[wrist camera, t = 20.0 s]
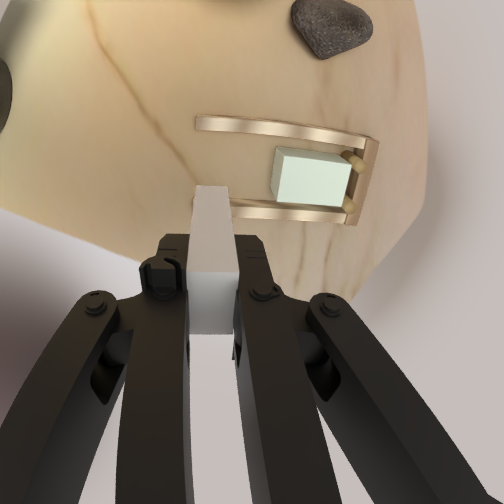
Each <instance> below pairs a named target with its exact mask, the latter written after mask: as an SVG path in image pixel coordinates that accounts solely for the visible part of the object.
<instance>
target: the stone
mask: <svg viewBox="0 0 504 504" xmlns="http://www.w3.org/2000/svg"><path fill="white" fill-rule="evenodd" d="M291 14H292V19H293V21H294V25H295V26H296V27H297V29H298V30H299V31H300V32H301V33H302V34H303V37H304V38H305V39H306V41H307V42H308V44H309V45H310V46H311V48H312V49H313V51H314V52H315V54H316V55H317V56H318V57H319V58H320V59H322V60H324V59H328V58H330V57H332V56H335V55H337V54H339V53H342V52H344V51H347V50H349V49H352V48H355V47H357V46H359V45H362V44H364V43H365V42H367V41H368V40H369V39H370V37H371V36H372V33H373V24H372V21H371V19H370V17H369V16H368V15H367V14H366V13H365V12H364V11H363V10H362V9H361V8H359V7H357V6H355V5H353V4H351V3H348V2H346V1H344V0H296V1H295V2H294V4H293V5H292V13H291Z"/></svg>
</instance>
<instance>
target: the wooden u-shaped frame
mask: <svg viewBox="0 0 504 504" xmlns="http://www.w3.org/2000/svg"><path fill="white" fill-rule="evenodd" d="M195 130H211V131H230V132H244V133H256V134H266V135H276V136H285V137H293V138H300V139H308V140H314V141H321V142H327V143H333V144H339V145H344V146H350V147H355V149H354V154H353V153H352V152H350V151H348V150H346V151H344V152H343V153H342V154H341V157H342V158H343V159H345V160H346V161H347V162H349V163H350V164H351V165H352V167H351V171H350V175H349V179H348V183H347V187H346V191H345V195H344V199H343V203H342V206H341V207H338V206H327V205H316V204H303V203H289V202H277V201H264V200H246V199H229V201H230V208H231V216H232V217H239V218H262V219H282V220H300V221H317V222H332V223H344V224H345V225H353V226H357V223H358V220H359V217H360V214H361V210H362V207H363V203H364V200H365V197H366V193H367V189H368V186H369V182H370V179H371V175H372V171H373V167H374V163H375V159H376V155H377V151H378V147H379V143H380V142H379V141H377V140H375V139H373V138H371V137H368V136H364V135H360V134H355V133H350V132H345V131H340V130H335V129H330V128H324V127H318V126H312V125H306V124H299V123H292V122H285V121H277V120H268V119H259V118H248V117H235V116H220V115H197V116H196V124H195ZM193 205H194V197H193V202H192V213H193Z"/></svg>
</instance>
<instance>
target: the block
mask: <svg viewBox="0 0 504 504" xmlns="http://www.w3.org/2000/svg"><path fill="white" fill-rule="evenodd" d="M351 167H352V165H351V164H350V163H349V162H347V161H346V160H345V159H343V158H342V157H340V156H339V155H338V154H332V153H325V152H318V151H311V150H303V149H295V148H287V147H278V146H276V151H275V157H274V164H273V171H272V178H271V184H270V188H271V190H272V193H273V195H274V197H275V199H276V201H277V202H289V203H303V204H316V205H327V206H338V207H341V206H342V203H343V199H344V195H345V191H346V187H347V183H348V179H349V175H350V171H351Z"/></svg>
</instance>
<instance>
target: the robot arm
mask: <svg viewBox="0 0 504 504" xmlns="http://www.w3.org/2000/svg"><path fill="white" fill-rule="evenodd" d="M11 98H12V82H11V76H10V73H9V70H8V67H7V66H6V64H5V62H4V61H3V60H2V59H1V58H0V132H1V130H2V128H3V127H4V124H5V122H6V120H7V117H8V114H9V110H10V105H11ZM139 272H140V279H141V285H142V292H141V293H140V294H138V295H136V296H134V297H130V298H127V299H121V300H116V298H115V297H114V296H113V294H111V293H109V292H107V291H101V290H97V291H92V292H89V293H87V294H85V295H83V296H82V297H81V298H80V299H79V300H78V301H77V302H76V304H75V305H74V307H73V308H72V309H71V311H70V312H69V314H68V315H67V316H66V318H65V319H64V321H63V322H62V324H61V325H60V327H59V328H58V329H57V331H56V333H55V334H54V335H53V337H52V338H51V340H50V341H49V343H48V344H47V346H46V348H45V349H44V351H43V352H42V354H41V356H40V357H39V359H38V360H37V362H36V363H35V365H34V367H33V368H32V370H31V372H30V373H29V375H28V377H27V379H26V380H25V382H24V384H23V385H22V388H21V389H20V391H19V393H18V394H17V396H16V398H15V400H14V402H13V404H12V406H11V407H10V410H9V411H8V414H7V415H6V417H5V419H4V421H3V424H2V425H1V428H0V504H78V502H79V499H80V496H81V493H82V490H83V487H84V484H85V481H86V479H87V476H88V473H89V470H90V467H91V464H92V462H93V459H94V456H95V453H96V451H97V448H98V446H99V443H100V440H101V438H102V435H103V433H104V430H105V428H106V425H107V422H108V420H109V417H110V415H111V413H112V410H113V408H114V405H115V403H116V401H117V398H118V396H119V394H120V391H121V389H122V387H123V384H124V382H125V386H124V392H123V400H122V409H121V417H120V427H119V437H118V450H117V466H116V496H115V500H116V501H115V504H195V503H194V490H193V476H192V459H191V458H192V457H191V435H190V434H191V433H190V342H189V334H233V328H234V346H233V356H232V360H235V367H236V376H237V386H238V395H239V403H240V412H241V420H242V429H243V437H244V444H245V451H246V460H247V466H248V474H249V482H250V489H251V495H252V502H253V504H342V501H341V497H340V493H339V489H338V485H337V482H336V477H335V474H334V470H333V466H332V462H331V459H330V455H329V451H328V447H327V443H326V440H325V436H324V433H323V429H322V425H321V421H320V418H319V414H318V410H317V408H318V409H319V411H320V413H321V414H322V416H323V418H324V420H325V421H326V423H327V425H328V427H329V428H330V430H331V432H332V434H333V435H334V437H335V439H336V440H337V442H338V443H339V445H340V447H341V449H342V451H343V452H344V454H345V456H346V457H347V459H348V461H349V462H350V464H351V466H352V467H353V469H354V471H355V472H356V474H357V476H358V477H359V479H360V481H361V482H362V484H363V486H364V487H365V489H366V491H367V492H368V494H369V495H370V497H371V499H372V501H373V502H374V504H503V503H501V502H499V501H498V500H496V499H495V498H493V497H491V496H490V495H488V494H487V492H486V490H485V489H484V487H483V486H482V484H481V483H480V481H479V480H478V478H477V476H476V475H475V473H474V472H473V470H472V469H471V467H470V466H469V464H468V463H467V461H466V460H465V458H464V457H463V455H462V454H461V452H460V451H459V449H458V448H457V446H456V445H455V444H454V442H453V441H452V439H451V438H450V436H449V435H448V433H447V432H446V431H445V429H444V428H443V426H442V425H441V424H440V422H439V421H438V419H437V418H436V417H435V415H434V414H433V412H432V411H431V410H430V408H429V407H428V406H427V404H426V403H425V402H424V400H423V399H422V397H421V396H420V395H419V393H418V392H417V391H416V389H415V388H414V387H413V386H412V384H411V383H410V381H409V380H408V379H407V377H406V376H405V375H404V373H403V372H402V371H401V370H400V368H399V367H398V366H397V364H396V363H395V362H394V360H393V359H392V358H391V356H390V355H389V354H388V353H387V351H386V350H385V349H384V347H383V346H382V345H381V344H380V342H379V341H378V340H377V339H376V337H375V336H374V335H373V334H372V333H371V331H370V330H369V329H368V327H367V326H366V325H365V324H364V322H363V321H362V320H361V319H360V317H359V316H358V315H357V314H356V312H355V311H354V310H353V309H352V308H351V306H350V305H349V304H348V303H347V302H346V301H345V300H344V299H343V298H341V297H339V296H337V295H335V294H331V293H319V294H317V295H314V296H313V297H312V298H311V300H310V302H306V301H301V300H297V299H293V298H290V297H288V296H286V295H284V293H283V291H282V289H281V287H280V286H278V285H277V284H276V283H274V281H273V277H272V273H271V270H270V266H269V263H268V259H267V256H266V252H265V249H264V245H263V242H262V241H261V240H260V239H259V238H258V237H257V236H256V235H235V234H234V230H233V223H232V216H231V208H230V201H229V194H228V186H207V185H196V190H195V197H194V205H193V213H192V221H191V230H190V234H166V235H165V236H164V237H163V238H162V239H161V240H160V242H159V246H158V250H157V253H156V256H154V257H151V258H148V259H147V260H145V261H144V262H142V264H141V265H140V267H139ZM316 406H317V407H316Z"/></svg>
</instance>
